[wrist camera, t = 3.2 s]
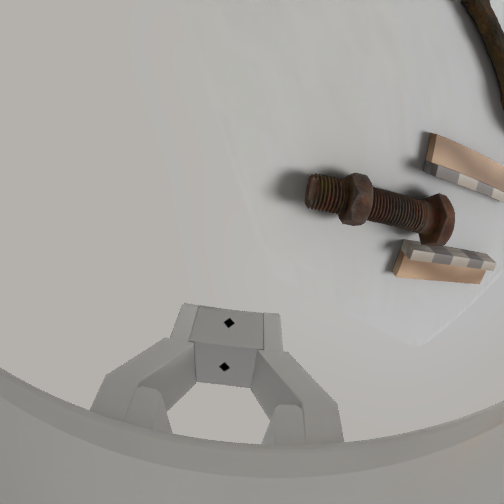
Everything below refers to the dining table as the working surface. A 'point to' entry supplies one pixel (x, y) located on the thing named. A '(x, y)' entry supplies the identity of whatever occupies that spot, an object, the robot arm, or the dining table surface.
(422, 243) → the bolt
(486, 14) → the carved wooden phallus
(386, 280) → the dining table surface
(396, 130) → the dining table surface
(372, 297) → the dining table surface
